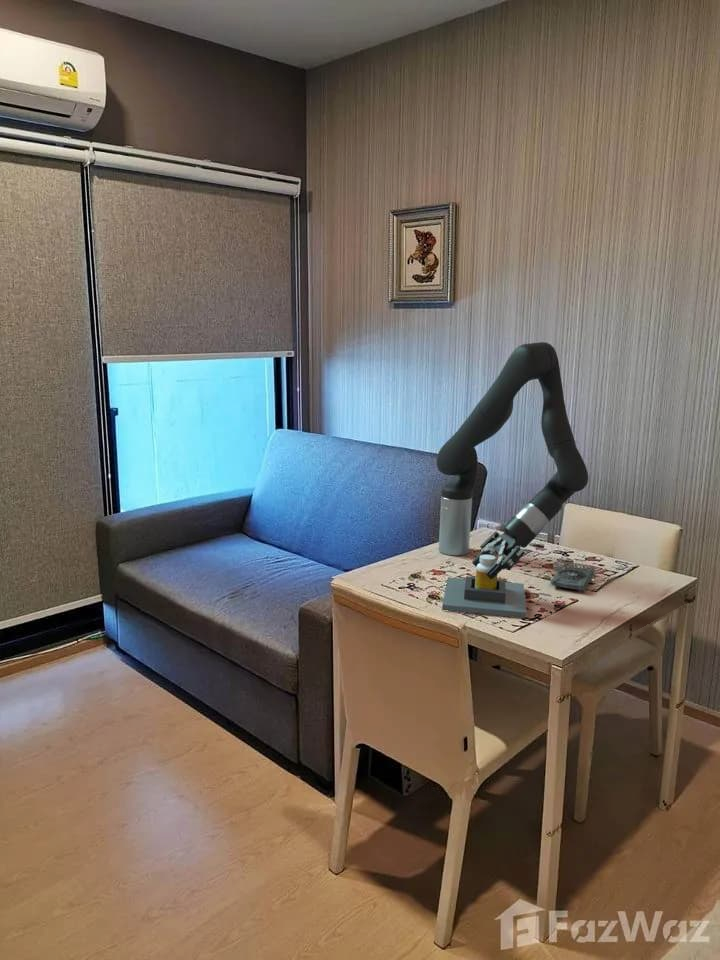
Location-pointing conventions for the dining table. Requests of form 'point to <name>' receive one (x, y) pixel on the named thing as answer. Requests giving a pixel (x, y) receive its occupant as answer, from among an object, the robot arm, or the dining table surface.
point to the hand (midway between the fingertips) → (481, 571)
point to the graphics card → (572, 575)
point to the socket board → (485, 598)
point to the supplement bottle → (481, 569)
